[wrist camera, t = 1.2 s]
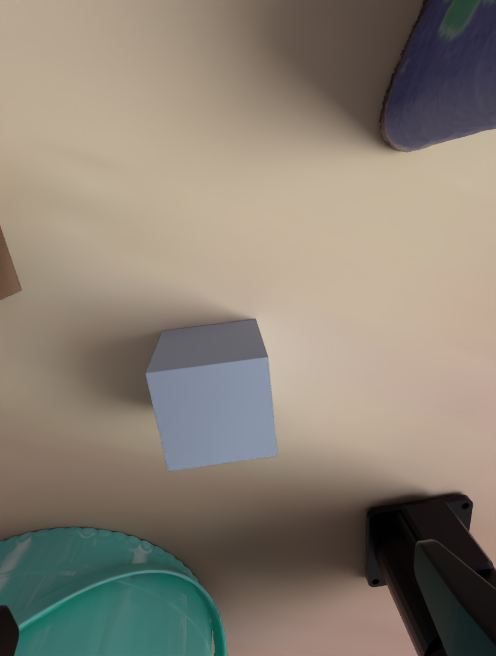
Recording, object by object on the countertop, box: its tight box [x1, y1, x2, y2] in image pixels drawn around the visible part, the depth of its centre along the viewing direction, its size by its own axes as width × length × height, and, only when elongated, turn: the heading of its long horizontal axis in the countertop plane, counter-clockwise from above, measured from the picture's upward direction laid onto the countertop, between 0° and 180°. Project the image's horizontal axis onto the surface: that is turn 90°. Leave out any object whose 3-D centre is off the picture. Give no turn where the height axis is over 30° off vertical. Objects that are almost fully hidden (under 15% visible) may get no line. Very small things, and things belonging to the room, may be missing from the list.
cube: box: [145, 319, 277, 471], centre depth 16 cm, size 4×4×4 cm
